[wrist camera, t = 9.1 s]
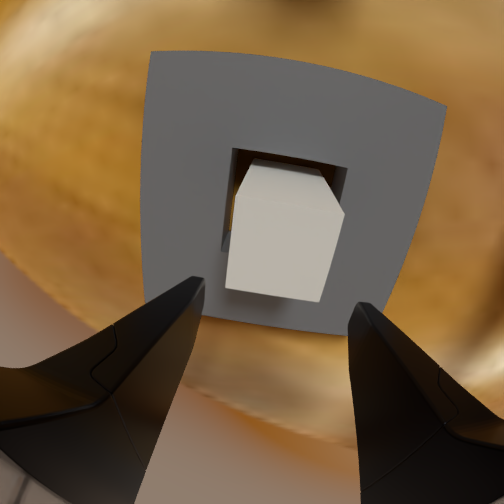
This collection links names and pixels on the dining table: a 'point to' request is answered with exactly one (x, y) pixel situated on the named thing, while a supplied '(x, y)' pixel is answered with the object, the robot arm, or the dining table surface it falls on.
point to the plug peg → (283, 231)
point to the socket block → (289, 144)
